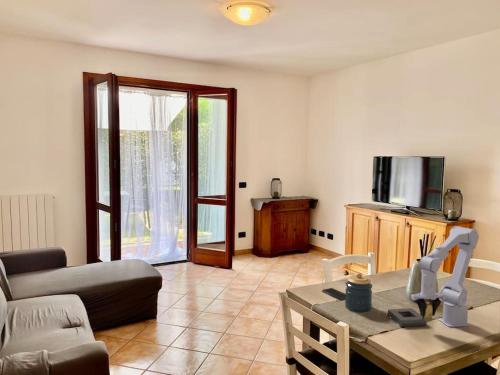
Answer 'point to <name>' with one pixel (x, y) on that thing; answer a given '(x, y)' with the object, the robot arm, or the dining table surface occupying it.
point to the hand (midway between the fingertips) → (427, 315)
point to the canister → (358, 293)
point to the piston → (428, 312)
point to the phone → (334, 293)
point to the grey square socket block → (406, 317)
